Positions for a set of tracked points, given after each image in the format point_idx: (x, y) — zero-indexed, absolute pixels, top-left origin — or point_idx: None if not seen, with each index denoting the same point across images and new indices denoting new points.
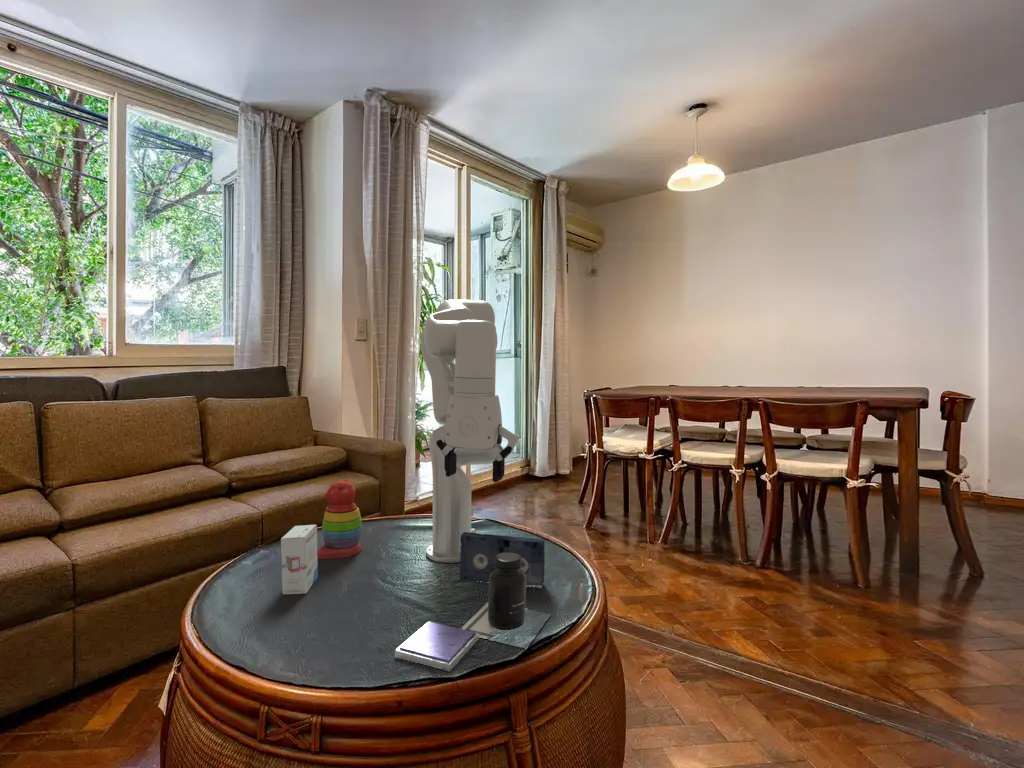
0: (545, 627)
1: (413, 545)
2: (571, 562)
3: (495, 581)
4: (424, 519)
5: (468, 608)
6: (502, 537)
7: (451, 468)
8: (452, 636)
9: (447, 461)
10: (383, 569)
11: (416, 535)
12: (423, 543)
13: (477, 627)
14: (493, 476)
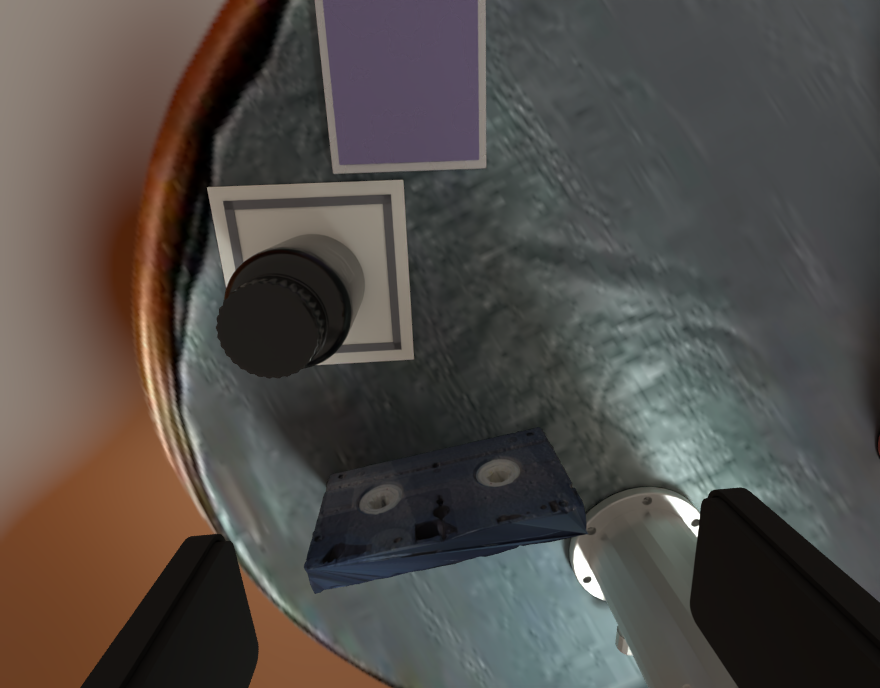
0: None
1: None
2: (333, 624)
3: (297, 252)
4: None
5: (444, 305)
6: (447, 550)
7: (745, 585)
8: (381, 116)
9: (863, 616)
10: (761, 390)
11: None
12: None
13: (369, 223)
14: (189, 570)
